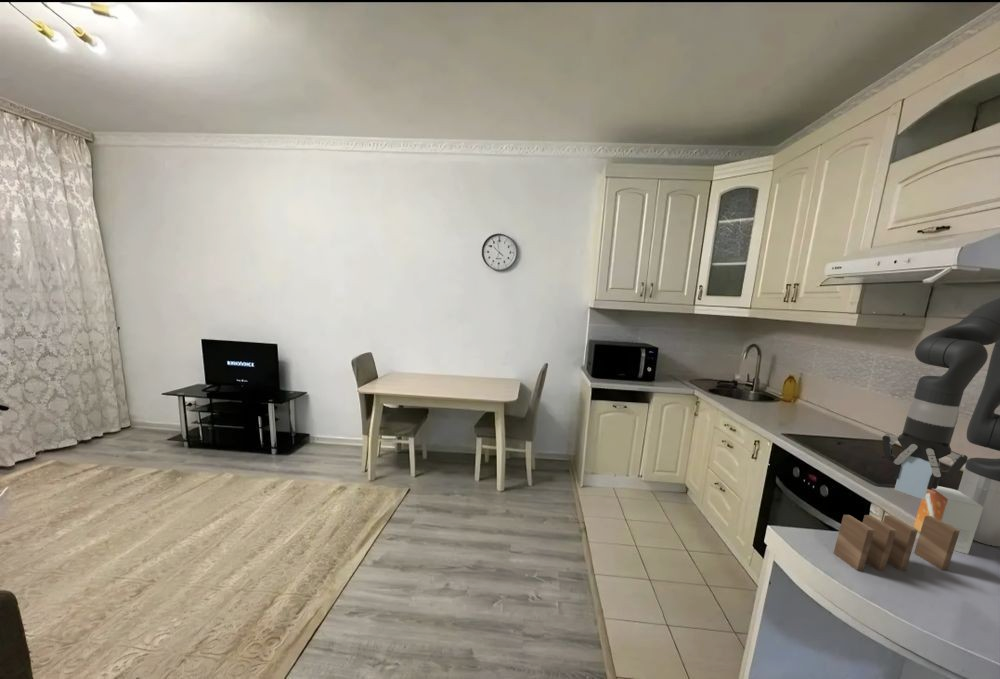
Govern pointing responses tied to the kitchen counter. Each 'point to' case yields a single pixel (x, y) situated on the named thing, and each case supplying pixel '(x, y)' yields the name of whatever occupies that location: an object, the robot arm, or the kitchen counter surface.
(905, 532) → the domino
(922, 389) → the robot arm
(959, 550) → the small box
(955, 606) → the kitchen counter surface
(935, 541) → the domino
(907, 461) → the domino
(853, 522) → the domino
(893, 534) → the domino
